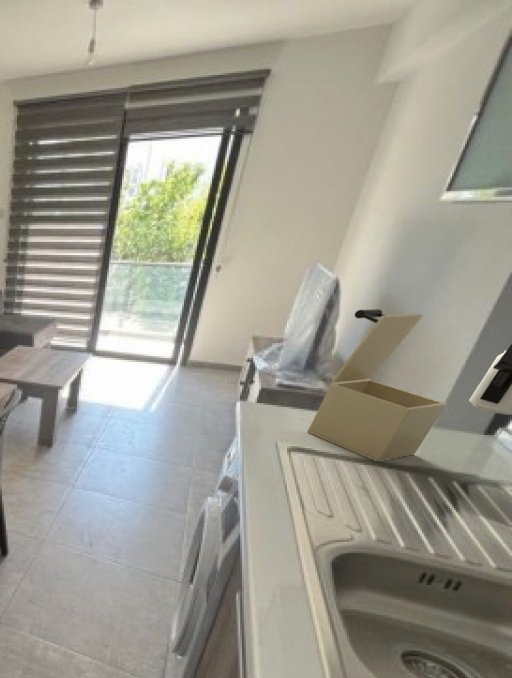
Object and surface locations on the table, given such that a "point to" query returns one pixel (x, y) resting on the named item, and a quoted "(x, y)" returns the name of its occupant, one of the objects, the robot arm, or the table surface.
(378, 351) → the box lid
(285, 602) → the table surface
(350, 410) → the tan box
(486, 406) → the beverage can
